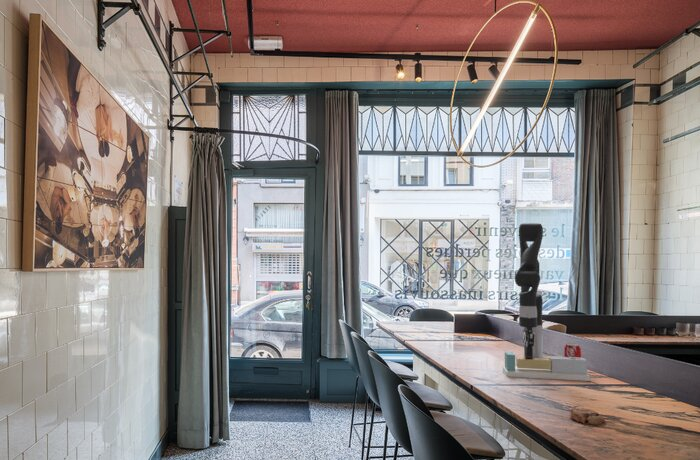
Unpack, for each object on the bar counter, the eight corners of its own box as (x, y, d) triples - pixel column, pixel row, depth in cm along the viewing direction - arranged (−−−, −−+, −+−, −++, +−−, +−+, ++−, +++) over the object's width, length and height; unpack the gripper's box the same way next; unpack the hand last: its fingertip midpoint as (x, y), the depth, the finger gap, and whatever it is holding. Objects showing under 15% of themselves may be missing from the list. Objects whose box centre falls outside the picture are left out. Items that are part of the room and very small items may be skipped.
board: (502, 370, 216) (502, 365, 216) (581, 374, 210) (581, 369, 210) (506, 376, 204) (506, 371, 205) (590, 380, 198) (590, 376, 198)
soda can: (584, 372, 215) (583, 345, 215) (568, 372, 215) (568, 345, 216) (577, 368, 222) (576, 343, 223) (562, 368, 222) (561, 342, 223)
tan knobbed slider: (516, 366, 212) (516, 343, 212) (564, 368, 208) (564, 345, 209) (517, 368, 208) (517, 345, 208) (567, 370, 204) (566, 347, 205)
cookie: (592, 414, 154) (592, 405, 154) (611, 425, 143) (610, 415, 144) (562, 414, 154) (562, 405, 154) (579, 425, 143) (579, 415, 143)
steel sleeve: (548, 369, 210) (548, 356, 210) (582, 371, 207) (582, 357, 208) (552, 372, 204) (551, 358, 204) (587, 374, 201) (586, 360, 202)
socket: (504, 366, 214) (504, 351, 215) (512, 367, 214) (512, 351, 214) (507, 370, 206) (507, 354, 207) (515, 371, 206) (515, 355, 206)
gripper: (516, 314, 218) (516, 351, 217) (522, 317, 204) (522, 357, 203) (533, 314, 217) (534, 352, 215) (540, 317, 203) (541, 358, 201)
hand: (528, 354), depth 209 cm, fingers closed on tan knobbed slider, 3 cm apart
